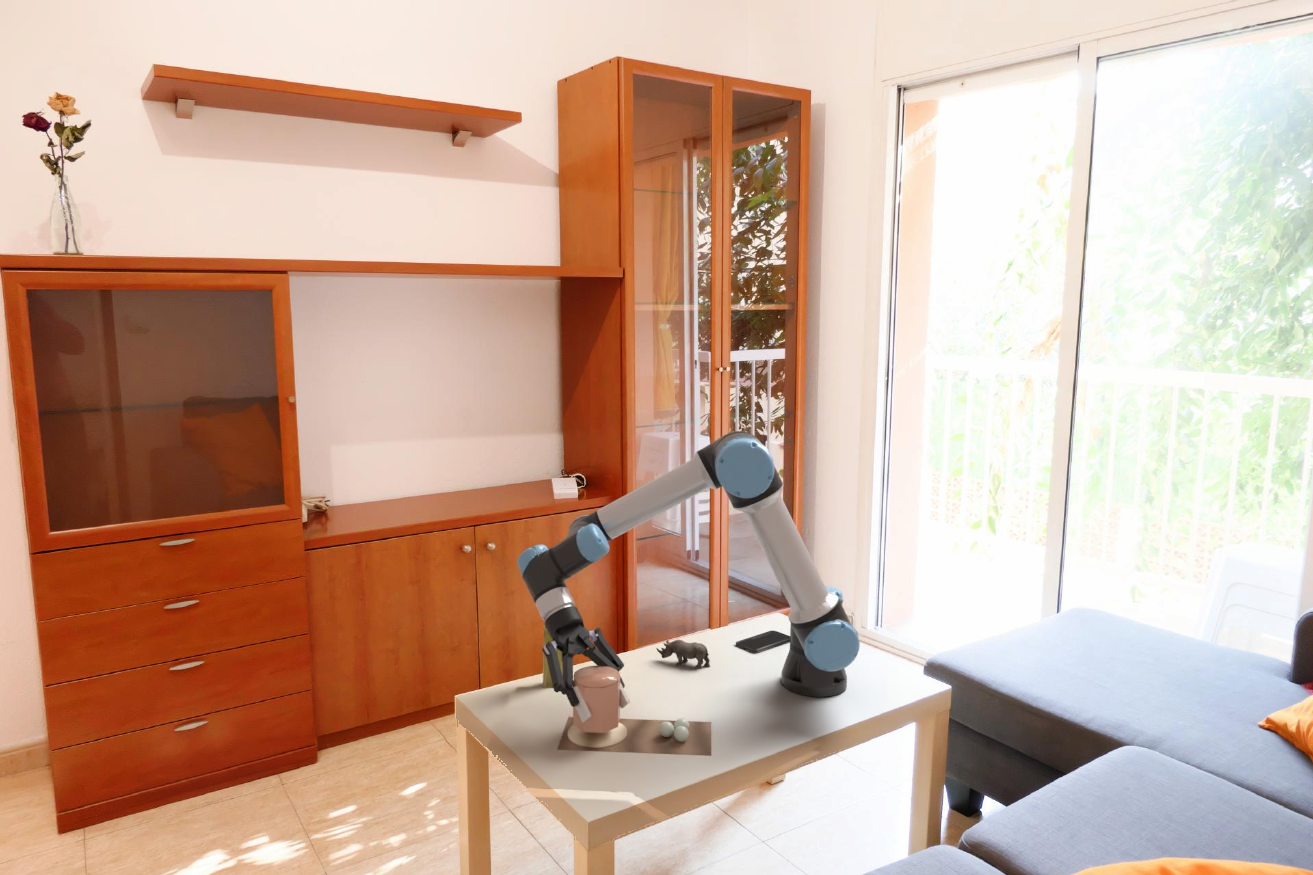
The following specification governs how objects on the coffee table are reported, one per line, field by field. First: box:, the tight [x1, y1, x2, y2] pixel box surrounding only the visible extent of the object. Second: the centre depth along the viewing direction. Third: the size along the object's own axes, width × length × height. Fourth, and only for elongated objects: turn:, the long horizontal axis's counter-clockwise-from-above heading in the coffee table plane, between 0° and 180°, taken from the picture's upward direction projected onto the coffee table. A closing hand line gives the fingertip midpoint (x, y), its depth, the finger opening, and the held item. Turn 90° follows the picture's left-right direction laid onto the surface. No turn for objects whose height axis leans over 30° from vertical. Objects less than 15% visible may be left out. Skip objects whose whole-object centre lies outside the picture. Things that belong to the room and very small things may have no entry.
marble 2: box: [674, 717, 689, 730], centre depth 177 cm, size 3×3×3 cm
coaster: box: [568, 723, 627, 748], centre depth 176 cm, size 12×12×1 cm
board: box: [556, 716, 712, 757], centre depth 176 cm, size 30×14×1 cm, turn 86°
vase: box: [541, 625, 563, 689], centre depth 201 cm, size 6×6×14 cm
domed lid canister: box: [572, 665, 621, 733], centre depth 175 cm, size 9×9×10 cm
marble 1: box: [659, 721, 674, 737], centre depth 175 cm, size 3×3×3 cm
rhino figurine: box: [656, 639, 711, 670], centre depth 215 cm, size 4×14×6 cm, turn 68°
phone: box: [735, 630, 790, 654], centre depth 230 cm, size 8×1×15 cm
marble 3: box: [674, 726, 689, 742], centre depth 173 cm, size 3×3×3 cm
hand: (606, 711), depth 173 cm, fingers closed on domed lid canister, 9 cm apart
